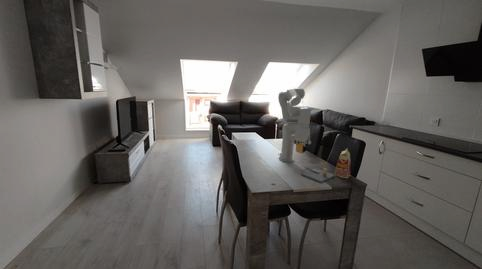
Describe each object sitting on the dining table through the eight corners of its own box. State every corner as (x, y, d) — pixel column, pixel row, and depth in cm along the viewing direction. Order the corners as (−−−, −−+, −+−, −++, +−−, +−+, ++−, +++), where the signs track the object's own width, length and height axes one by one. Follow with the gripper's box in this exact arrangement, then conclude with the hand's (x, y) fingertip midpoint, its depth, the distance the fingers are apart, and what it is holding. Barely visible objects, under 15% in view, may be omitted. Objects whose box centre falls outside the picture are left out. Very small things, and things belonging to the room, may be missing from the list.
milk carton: (337, 171, 172) (341, 146, 167) (350, 175, 166) (354, 149, 162) (333, 175, 165) (337, 149, 161) (347, 179, 160) (351, 151, 155)
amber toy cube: (296, 151, 164) (296, 143, 162) (300, 150, 167) (301, 142, 165) (301, 153, 160) (302, 145, 158) (306, 152, 163) (306, 144, 161)
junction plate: (300, 174, 163) (301, 166, 162) (315, 169, 175) (315, 161, 173) (320, 182, 152) (322, 174, 150) (334, 176, 163) (335, 168, 161)
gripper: (290, 123, 163) (288, 148, 167) (310, 128, 150) (307, 154, 154) (297, 123, 167) (294, 146, 171) (317, 127, 154) (314, 152, 159)
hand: (300, 150), depth 163 cm, fingers closed on amber toy cube, 5 cm apart
